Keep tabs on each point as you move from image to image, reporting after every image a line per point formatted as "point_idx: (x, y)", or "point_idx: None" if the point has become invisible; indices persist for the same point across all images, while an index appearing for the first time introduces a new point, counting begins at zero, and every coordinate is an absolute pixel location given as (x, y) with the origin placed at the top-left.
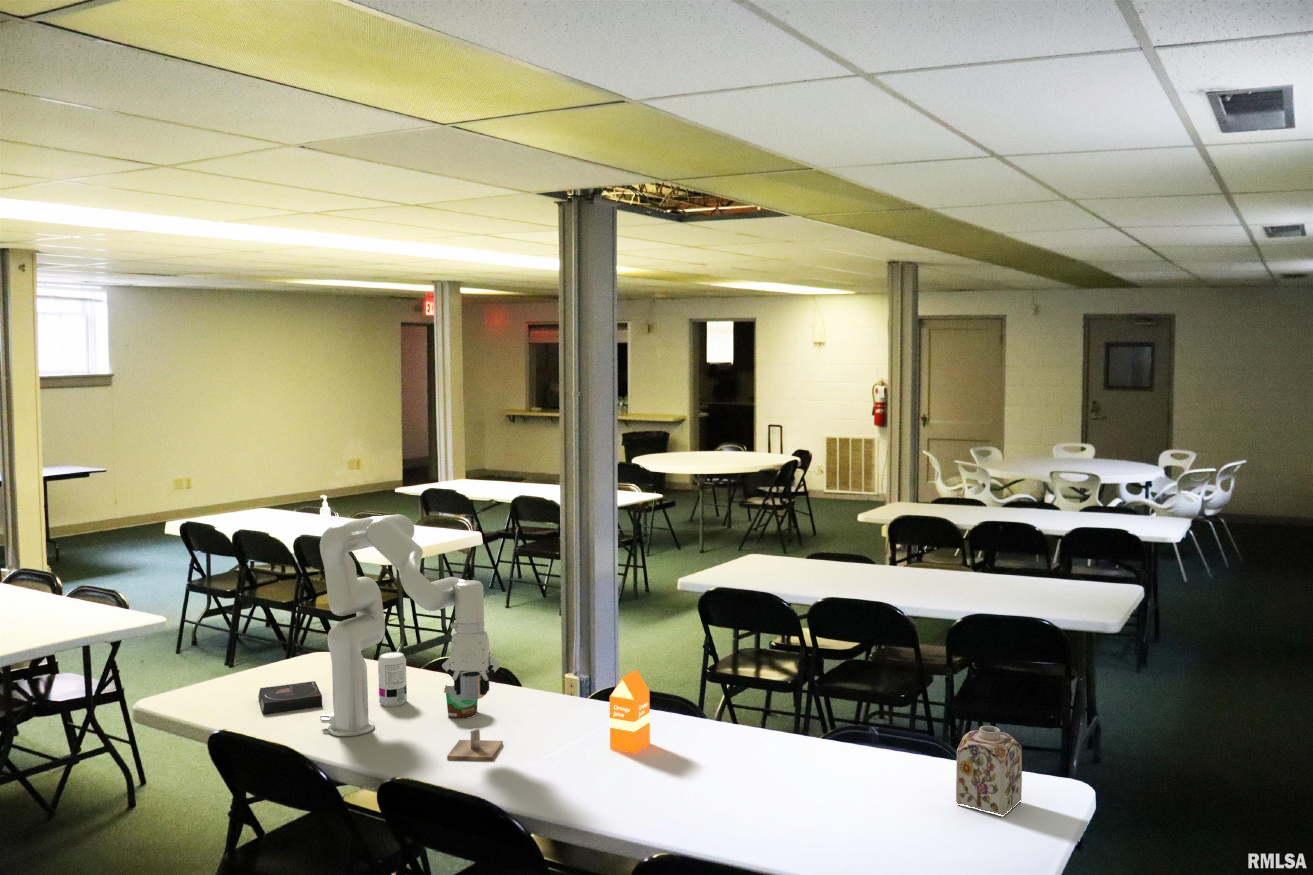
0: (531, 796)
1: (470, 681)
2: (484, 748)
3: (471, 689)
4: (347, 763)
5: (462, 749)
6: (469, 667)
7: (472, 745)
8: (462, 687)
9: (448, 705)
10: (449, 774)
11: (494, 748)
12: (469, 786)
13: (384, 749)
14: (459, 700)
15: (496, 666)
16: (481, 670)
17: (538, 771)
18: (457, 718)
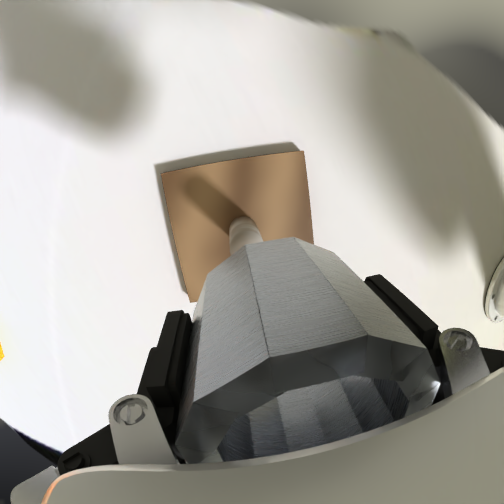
0: (24, 31)
1: (275, 319)
2: (214, 234)
3: (254, 278)
4: (484, 115)
5: (278, 211)
6: (350, 501)
7: (247, 219)
8: (352, 283)
9: None
10: (245, 51)
11: (184, 242)
12: (159, 5)
13: (459, 199)
14: None
15: (32, 501)
16: (102, 469)
17: (33, 147)
18: None
